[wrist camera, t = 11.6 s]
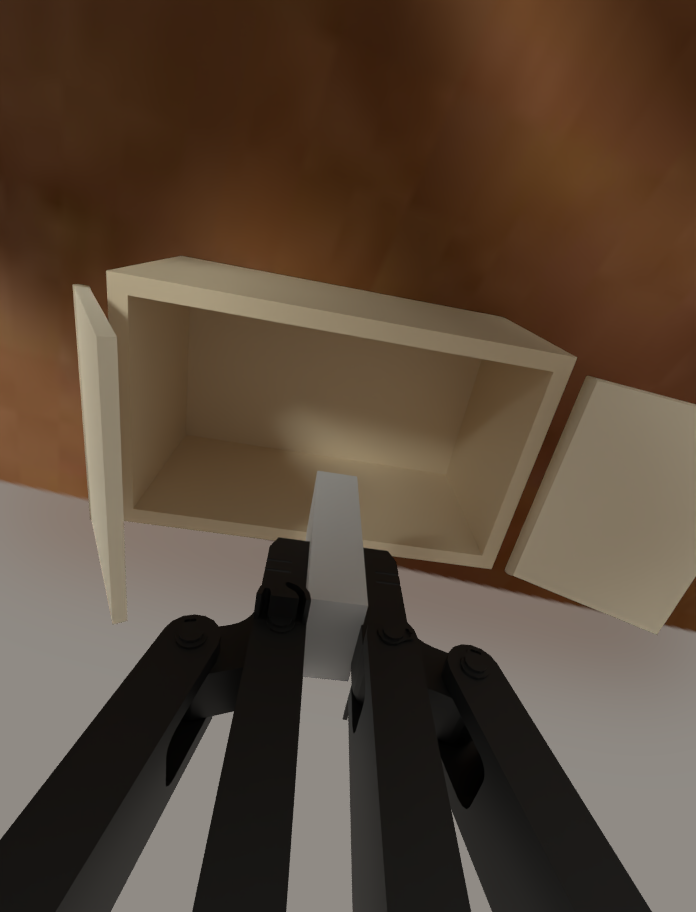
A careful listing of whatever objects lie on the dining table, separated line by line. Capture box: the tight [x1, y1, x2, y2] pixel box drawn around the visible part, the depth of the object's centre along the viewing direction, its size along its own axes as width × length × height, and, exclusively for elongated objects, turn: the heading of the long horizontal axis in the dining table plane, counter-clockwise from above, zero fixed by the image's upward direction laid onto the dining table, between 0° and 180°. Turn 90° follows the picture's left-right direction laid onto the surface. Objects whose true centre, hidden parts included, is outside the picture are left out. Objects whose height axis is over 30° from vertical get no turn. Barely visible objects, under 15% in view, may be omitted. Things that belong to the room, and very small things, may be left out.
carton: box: [106, 256, 577, 569], centre depth 26 cm, size 20×12×10 cm, turn 80°
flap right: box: [505, 376, 696, 635], centre depth 21 cm, size 1×11×7 cm
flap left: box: [73, 284, 127, 625], centre depth 18 cm, size 1×11×7 cm, turn 172°
